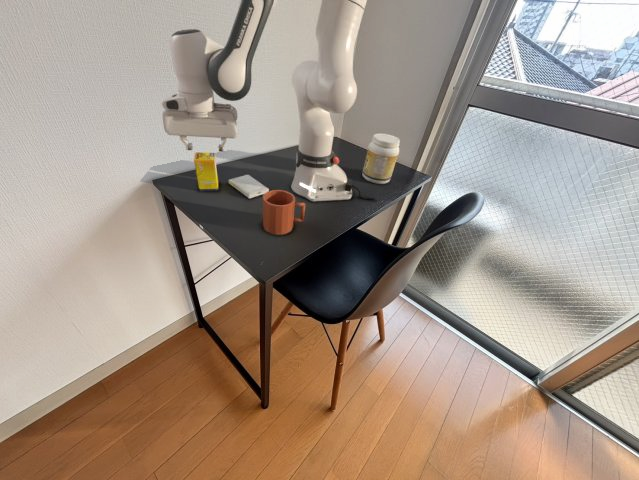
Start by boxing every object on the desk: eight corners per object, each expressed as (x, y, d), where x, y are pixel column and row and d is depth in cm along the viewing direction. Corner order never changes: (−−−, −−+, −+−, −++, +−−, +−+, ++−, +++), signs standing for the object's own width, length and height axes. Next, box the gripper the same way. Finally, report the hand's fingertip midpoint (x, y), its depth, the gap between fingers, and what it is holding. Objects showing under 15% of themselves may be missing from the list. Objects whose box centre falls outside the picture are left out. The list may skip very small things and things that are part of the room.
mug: (262, 234, 76) (262, 205, 70) (263, 217, 82) (263, 189, 77) (304, 235, 78) (307, 207, 72) (302, 218, 84) (304, 191, 79)
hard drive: (228, 179, 95) (248, 194, 88) (248, 174, 100) (269, 188, 93) (228, 183, 96) (248, 198, 89) (248, 178, 101) (269, 192, 94)
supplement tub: (362, 169, 120) (371, 130, 109) (389, 174, 119) (401, 135, 109) (360, 181, 110) (370, 139, 100) (390, 187, 109) (403, 145, 99)
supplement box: (200, 183, 94) (194, 151, 87) (218, 182, 95) (214, 152, 88) (198, 191, 89) (193, 159, 82) (218, 191, 91) (214, 159, 84)
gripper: (237, 101, 80) (241, 148, 89) (162, 96, 77) (174, 144, 85) (235, 107, 75) (239, 155, 84) (155, 102, 72) (168, 152, 81)
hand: (206, 150), depth 85 cm, fingers open, 8 cm apart
